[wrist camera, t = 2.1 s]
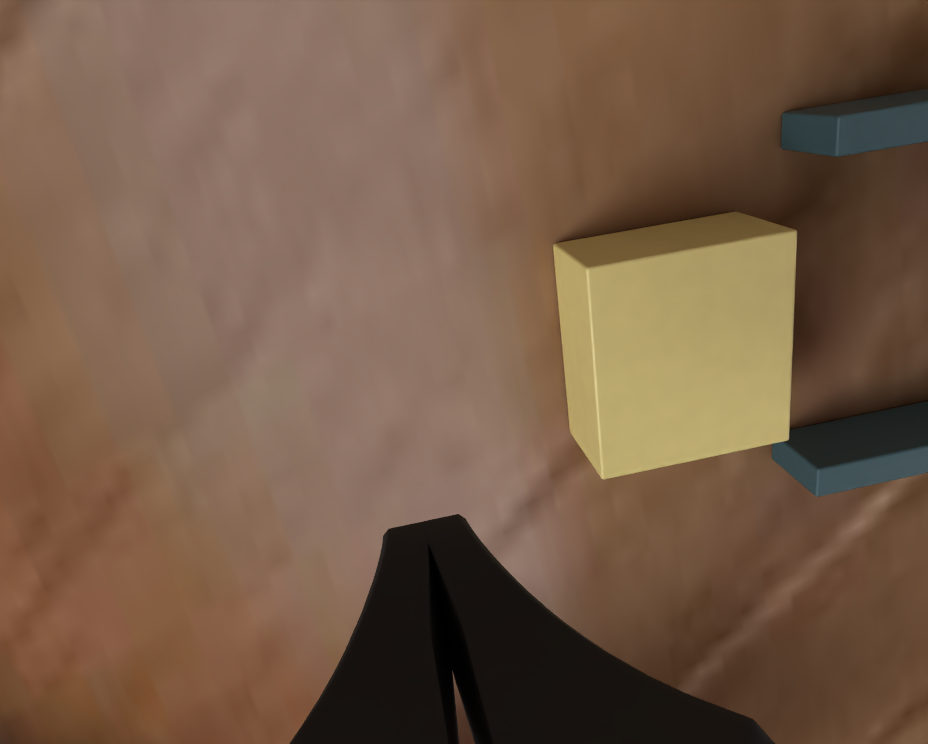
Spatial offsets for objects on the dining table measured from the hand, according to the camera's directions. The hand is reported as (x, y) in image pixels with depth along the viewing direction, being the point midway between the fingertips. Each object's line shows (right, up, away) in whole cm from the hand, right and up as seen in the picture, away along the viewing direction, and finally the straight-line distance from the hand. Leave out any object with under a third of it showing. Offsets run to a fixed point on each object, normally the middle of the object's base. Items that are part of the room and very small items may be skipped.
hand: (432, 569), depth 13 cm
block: (+6, +5, +9) cm, 12 cm away
